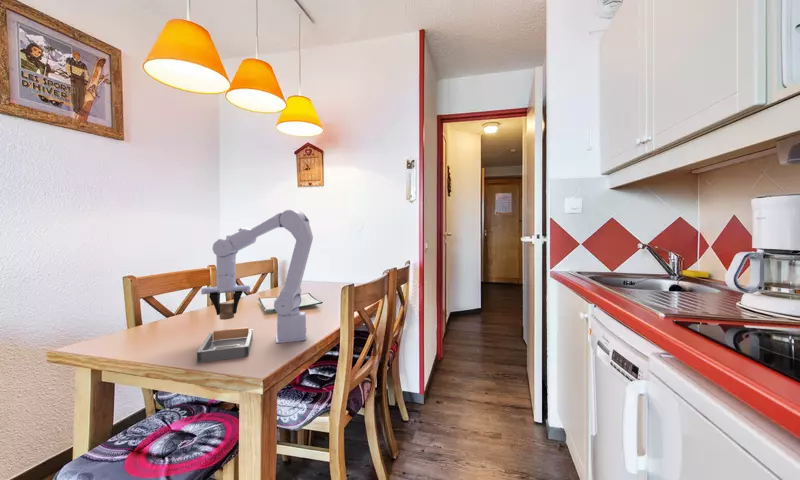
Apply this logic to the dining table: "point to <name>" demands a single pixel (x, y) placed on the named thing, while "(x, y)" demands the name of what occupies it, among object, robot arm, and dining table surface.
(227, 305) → the brown rounded block
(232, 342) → the housing
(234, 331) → the gate
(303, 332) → the robot arm
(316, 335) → the dining table surface
